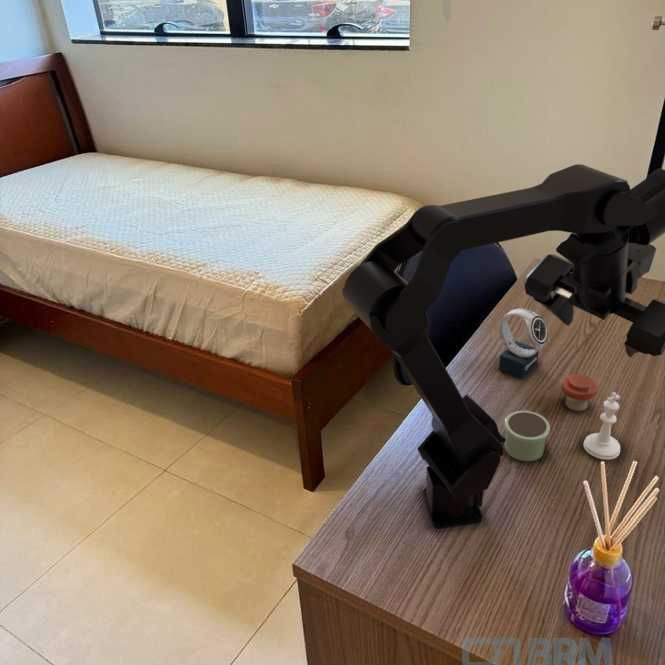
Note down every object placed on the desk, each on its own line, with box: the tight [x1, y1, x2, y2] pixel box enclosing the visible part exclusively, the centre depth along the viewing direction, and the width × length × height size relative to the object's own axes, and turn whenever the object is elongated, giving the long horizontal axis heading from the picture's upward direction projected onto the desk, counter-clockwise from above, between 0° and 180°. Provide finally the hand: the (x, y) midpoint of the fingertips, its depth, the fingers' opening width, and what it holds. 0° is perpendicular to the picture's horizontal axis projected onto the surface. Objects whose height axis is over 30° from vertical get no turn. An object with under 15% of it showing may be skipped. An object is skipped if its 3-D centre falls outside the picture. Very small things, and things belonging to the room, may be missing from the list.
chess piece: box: [582, 391, 621, 461], centre depth 85 cm, size 5×5×10 cm
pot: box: [503, 410, 551, 462], centre depth 88 cm, size 6×6×5 cm
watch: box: [497, 307, 549, 380], centre depth 103 cm, size 6×8×11 cm
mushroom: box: [560, 373, 599, 412], centre depth 95 cm, size 5×5×5 cm
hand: (599, 338), depth 82 cm, fingers open, 9 cm apart
